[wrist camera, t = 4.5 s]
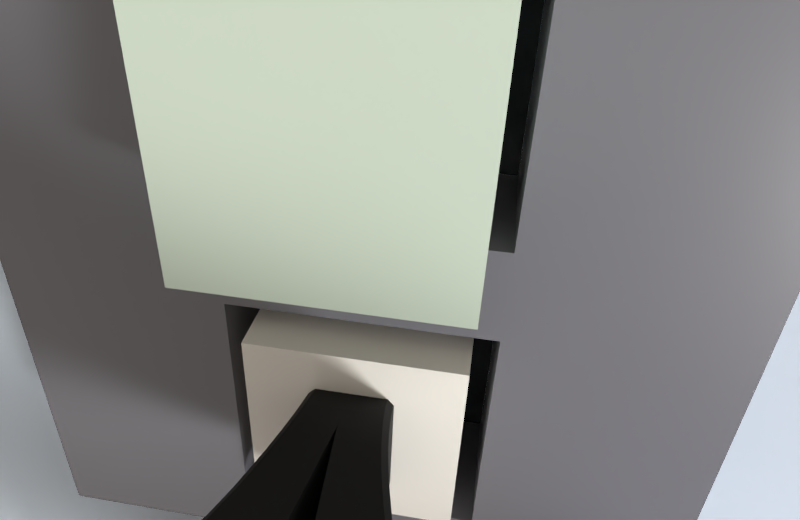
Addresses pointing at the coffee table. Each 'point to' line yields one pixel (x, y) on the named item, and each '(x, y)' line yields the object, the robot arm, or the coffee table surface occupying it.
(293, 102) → the sage key
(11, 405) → the coffee table surface
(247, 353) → the ivory key
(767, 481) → the coffee table surface
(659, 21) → the grey slotted board
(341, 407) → the robot arm
